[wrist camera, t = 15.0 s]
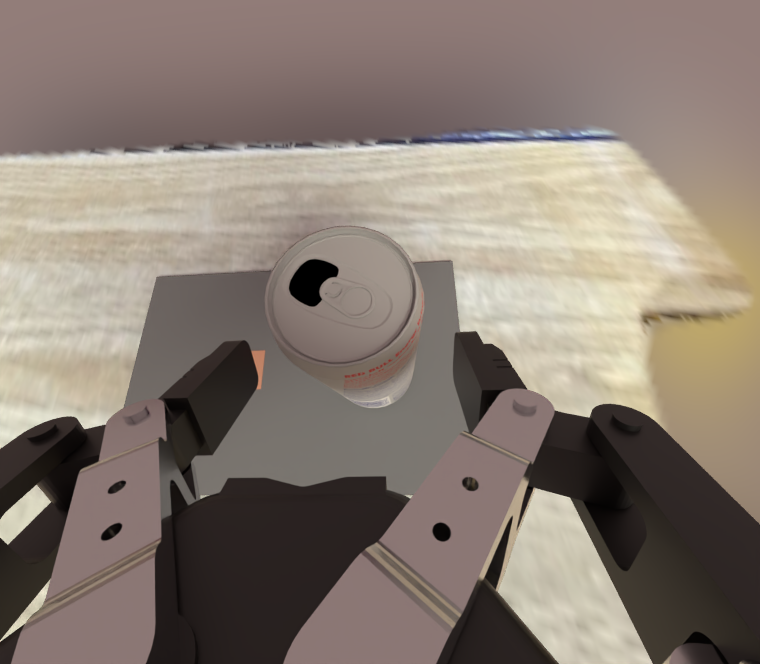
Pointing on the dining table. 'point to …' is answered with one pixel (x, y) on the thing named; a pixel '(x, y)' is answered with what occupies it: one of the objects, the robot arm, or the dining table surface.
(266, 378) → the mat
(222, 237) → the dining table surface
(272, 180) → the dining table surface
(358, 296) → the energy drink
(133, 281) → the dining table surface
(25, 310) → the dining table surface
